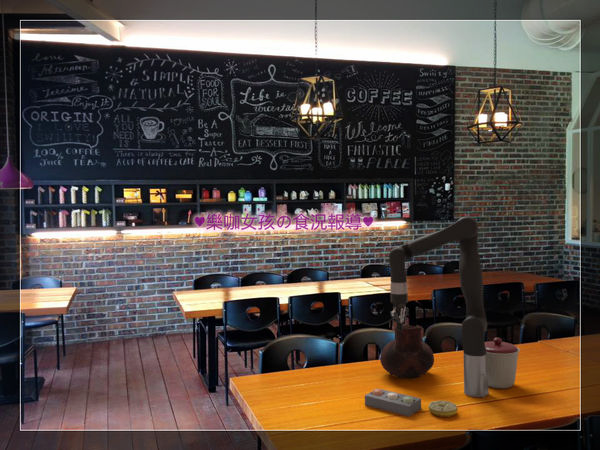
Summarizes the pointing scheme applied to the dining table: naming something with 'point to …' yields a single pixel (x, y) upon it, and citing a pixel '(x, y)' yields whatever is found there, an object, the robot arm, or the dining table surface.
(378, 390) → the terracotta button
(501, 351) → the canister
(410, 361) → the jug
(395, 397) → the ivory button
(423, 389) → the dining table surface
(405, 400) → the sage button
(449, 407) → the decorated donut
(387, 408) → the block
